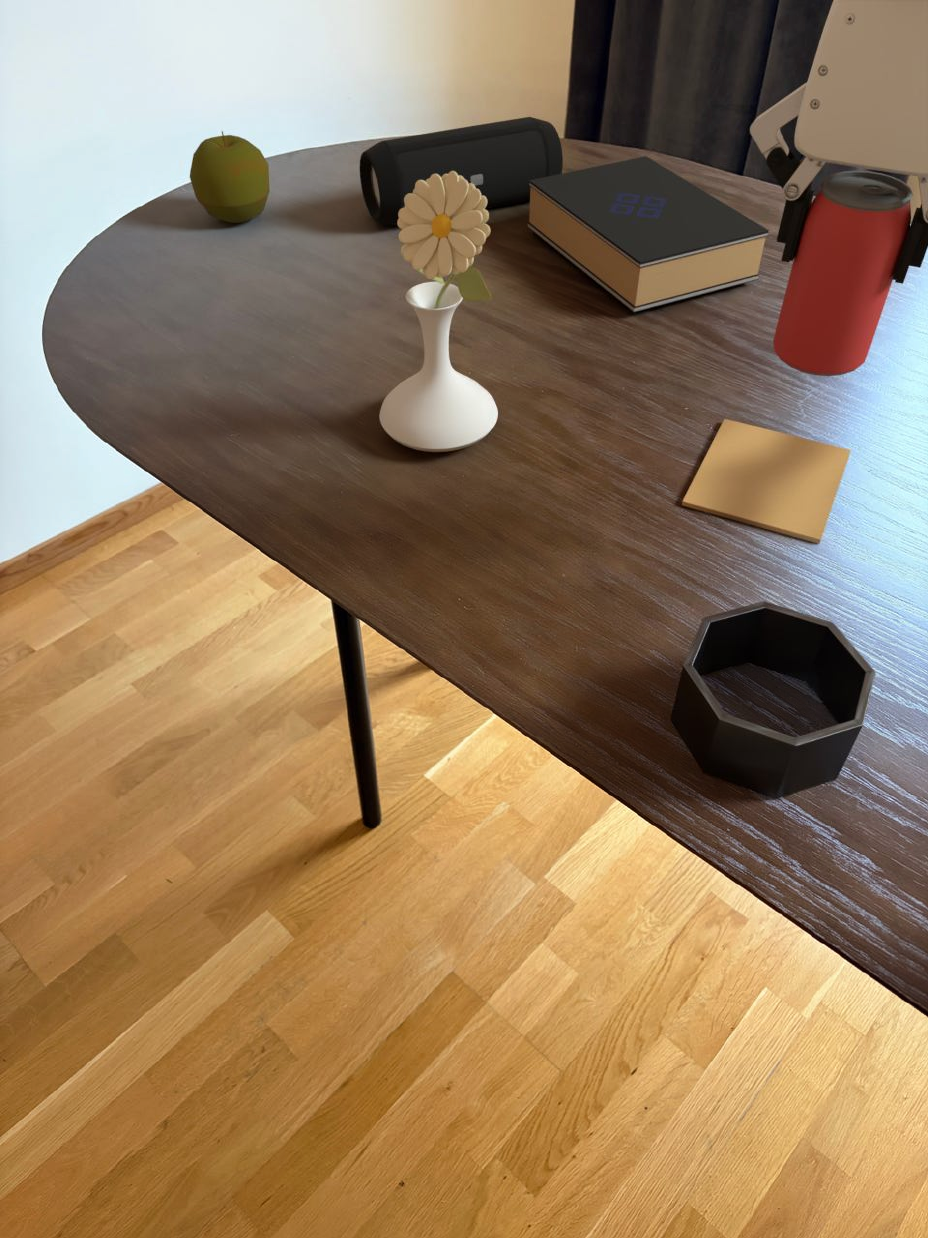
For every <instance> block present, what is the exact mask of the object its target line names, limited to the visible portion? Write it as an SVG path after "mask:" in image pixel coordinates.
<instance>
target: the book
mask: <svg viewBox="0 0 928 1238" xmlns="http://www.w3.org/2000/svg"><path fill="white" fill-rule="evenodd" d="M529 181H530V182H529V186H530V187H531V190H530V200H529V216H528V217H529V218H528V222H527V226H526V227H527V228H528V229H530V231H532V232H533V233H534V234H536V235H537V236H538V237H540V239H542V240H543V241H544V242H545V243H546V244H548V245H549V246H551V247H552V248H553V249H554V250H556V251H557V252H558V253H559V254H561V255H562V256H563V257H564V258H565V259H567V260H568V261H569V262H570V263H572V264H573V265H574V266H576V268H578V269H579V270H580V271H582V273H584V274H585V275H586V276H588V277H589V278H590V279H591V280H593V281H594V282H595V283H597V284H598V285H599V286H600V287H601V288H603V289H604V290H605V291H607V293H609V294H610V295H611V296H613V297H614V298H615V299H616V300H618V302H620V303H621V304H623V305H624V306H625V307H626V308H628V309H629V310H630V311H631V312H633V313H637V312H642V311H645V310H648V309H653V308H657V307H661V306H664V305H667V304H672V303H675V302H678V301H682V300H687V299H691V298H694V297H697V296H701V295H705V294H709V293H713V292H716V291H721V290H724V289H728V288H733V287H735V286H740V285H744V284H746V283H750V282H754V281H757V280H759V276H760V274H759V271H760V266H761V262H762V258H763V254H764V248H765V244H766V239H767V237H769V233H770V230H769V229H767V228H766V227H764V226H763V225H761V224H759V223H757V222H756V221H754V220H753V219H751V218H749V217H748V216H746V215H745V214H743V213H742V212H740V211H738V210H736V209H734V208H733V207H731V206H729V205H728V204H726V203H725V202H723V201H721V200H719V199H718V198H716V197H714V196H713V195H711V194H709V192H706V191H705V190H703V189H701V188H700V187H698V186H696V185H694V184H693V183H691V182H690V181H688V180H687V179H685V178H683V177H682V176H680V175H678V174H676V173H675V172H673V171H671V170H670V169H668V168H666V167H665V166H663V165H661V164H660V163H658V162H656V161H654V160H653V159H652V158H650V157H648V156H646V155H645V156H644V155H643V156H640V157H636V158H635V157H634V158H631V159H625V160H620V161H615V162H611V163H607V164H601V165H597V166H591V167H587V168H582V169H578V170H573V171H568V172H562V174H558V175H553V176H548V177H543V178H539V179H534V180H529Z"/></svg>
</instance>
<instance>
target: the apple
mask: <svg viewBox="0 0 928 1238" xmlns="http://www.w3.org/2000/svg"><path fill="white" fill-rule="evenodd" d="M269 166H270V165H269V163H268V161H267V160H266V158H265V156H264V154H263V153H262V151H261V149H260V148H258V147H257V146H255V145H254V144H253V143H251V142H250V141H249V140H247V139H246V138H243V137H241V136H238V135H233V134H227V135H226V134H224V131H223V130H221V135H217V136H212V137H209V138H206V139H204V140H203V141H201V142H200V144H199V146H198V147H197V148H196V150H195V151H194V153H193V155H192V160H191V166H190V171H189V180H190V183H191V186H192V190H193V193H194V196H195V199H196V200H197V201H198V203H200V205H201V206H202V207H203V208H204V210H205V211H206V212H207V214H208V215H209V216H211V217H212V218H215V219H218V220H220V221H223V222H226V223H231V224H243V223H246V222H249V221H251V220H253V219H254V218H257V217H259V216H260V215H261V214H262V213H263V212H264V210H265V207H266V204H267V201H268V198H269V194H270V191H271V190H270V167H269Z"/></svg>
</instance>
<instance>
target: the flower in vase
mask: <svg viewBox="0 0 928 1238" xmlns="http://www.w3.org/2000/svg"><path fill="white" fill-rule="evenodd" d="M404 203H405V207H404V208H401V209H400V211H399V213H398V216H399V219H398V221H397V224H398V225H397V227H398V228H399V229H401V230H400V232H399V233H398V240H399V242H401V243H402V244H403V245H402V246H401V248H400V254H401V255H402V256H403V260H404V261H405V262H407V263H411V265H412V269H413V270H414V271H418V272H419V273H420V274H422V275H424V276H425V278H427V279H428V280H433V281H427V282H423V283H419V284H416V285H414V286H412V287H411V288H410V289H408V290H407V292H406V294H405V300H406V302H407V303H408V304H409V306H410V307H411V308H412V309H413V310H414V312H415V313H416V316H417V318H418V320H419V325H420V328H421V333H422V340H423V349H424V350H423V351H424V353H423V354H424V357H423V365H422V367H421V369H420V370H419V371H418V372H416V373H415V374H413V375H411V376H409V377H408V378H406V379H405V380H403V381H401V382H400V383H399V384H398V385H396V386H395V387H394V388H393V389H392V390H391V391H390V392H389V393H388V394H387V395H386V396H385V398H384V399H383V402H382V404H381V407H380V410H379V418H378V419H379V422H380V425H381V427H382V428H383V430H384V431H385V432H386V434H388V436H389V437H390V438H391V439H392V440H394V441H395V442H397V443H398V444H401V445H402V446H404V447H407V448H410V449H413V450H416V451H422V452H430V453H431V452H432V453H442V452H443V453H445V452H452V451H458V450H461V449H465V448H468V447H470V446H473V445H475V444H476V443H478V442H480V441H481V440H482V439H484V438H485V437H486V436H487V435H488V434H489V433H490V431H492V429H493V428H494V427H495V425H496V423H497V421H498V418H499V417H498V416H499V411H498V407H497V405H496V402H495V399H494V398H493V396H492V394H491V393H490V392H489V391H488V390H487V389H486V388H484V387H483V385H481V384H479V382H477V381H475V380H474V379H472V378H470V377H468V376H466V375H465V374H462V373H460V372H458V371H456V370H455V369H454V368H453V366H452V364H451V360H450V350H449V349H450V348H449V347H450V346H449V343H450V341H449V339H450V329H451V324H452V320H453V316H454V314H455V312H456V309H457V308H458V307H459V305H460V304H461V303H462V302H463V299H464V300H466V301H470V302H489V301H493V296H492V294H491V291H490V290H489V288H488V287H487V284H486V282H485V280H484V277H483V276H482V274H481V272H480V271H479V269H478V268H476V267H474V266H472V265H473V264H474V261H475V258H474V257H475V256H478V255H480V254H481V253H482V252H483V251H482V250H483V246H484V245H485V243H486V240H487V238H488V237H490V235H491V227H490V225H488V224H487V222H488V221H489V219H490V213H489V211H488V209H485V208H486V206H487V198H486V197H485V196H481V192H480V190H479V189H476V187H475V185H474V184H473V183H469V184H468V182H467V180H465V179H464V177H463V176H461V175H459V176H458V174H457V173H456V172H455V171H451V172H449V174H444V175H443V176H442V177H440V176H439V175H438V174H433V175H431V177H430V178H428V179H427V180H426V181H424V180H418V181H417V182H416V184H415V189H414V190H413V194H412V193H408V194H407V195H406V196H405V198H404ZM448 276H449V277H448ZM444 277H448V278H447V280H446V281H445V282H444V279H443V278H444ZM454 279H455V282H456V285H455V284H452V282H453V280H454Z"/></svg>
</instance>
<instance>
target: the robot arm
mask: <svg viewBox="0 0 928 1238" xmlns="http://www.w3.org/2000/svg"><path fill="white" fill-rule="evenodd" d="M820 35H821V36H820V39H819V41H818V45H817V48H816V52H815V54H814V57H813V62H812V65H811V68H810V72H809V75H808V78H807V81H806V82H805V83H804V84H802V85H800V86H799V87H798V88H796V89H794V90H793V91H792V92H791V93H789V94H788V95H787V96H784V97H783V98H782V99H781V100H779V101H778V102H776V103H775V104H774V105H772V106H771V107H769V108H768V109H766V110H765V111H764V112H762V113H761V114H760V115H758V116H757V117H756V118H755V119H754V120H753V122H752V123H751V124H750V127H749V134H750V135H751V138H752V140H753V141H754V142H755V144H756V146H757V149H758V150H759V151H760V153H761V155H763V157H764V159H765V162H766V165H767V167H768V169H769V170H770V172H771V174H772V175H773V177H774V178H775V180H776V181H777V183H778V185H779V186H780V187H781V189H782V196H783V198H784V199H785V203H784V207H783V212H782V214H781V215H782V216H781V220H780V223H779V224H780V225H779V227H778V232H777V237H776V243H781V244H784V247H783V252H782V256H781V259H780V261H781V262H785V263H790V262H793V260H794V257H795V254H796V250H797V246H798V242H799V238H800V234H801V230H802V226H803V222H804V218H805V215H806V213H807V211H808V209H809V207H810V205H811V203H812V202H813V200H814V196H815V195H814V194H815V190H813V180H814V179H815V178H816V177H817V175H818V173H820V171H821V170H822V168H823V167H824V166H825V165H826V164H834V165H840V166H847V167H853V168H859V169H864V170H865V169H866V170H871V171H877V172H878V171H879V172H884V173H885V172H886V173H892V174H899V175H907V176H911V177H917V181H918V187H919V188H918V189H919V195H920V202H921V204H920V207H916V208H915V210H914V214H913V217H912V219H911V224H910V229H909V232H908V235H907V238H906V241H905V244H904V247H903V250H902V253H901V256H900V259H899V262H898V265H897V268H896V271H895V273H894V276H893V281H895V283H897V284H902V285H903V284H904V283H905V280H906V276H907V275H908V274H907V273H908V271H909V268H910V267H914V268H921V267H922V263H923V262H924V259H925V256H926V253H927V251H928V0H833V1H832V3H831V6H830V9H829V12H828V15H827V17H826V19H825V24H824V26H823V29H822V33H821V34H820ZM795 118H797V120H796V124H795V130H794V138H793V143H794V147H795V149H796V150H797V151H798V152H799V153H800V154H801V155H803V156H802V158H801V159H800V160H799V158H798V156H797V155H796V154H795V152H794V150H793V149H792V147H791V146H790V145H789V143H787V142H786V141H785V139H784V136H783V134H782V132H781V128H782V127H783V126H785V125H786V124H788V123H790V122H791V121H792V120H795Z"/></svg>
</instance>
